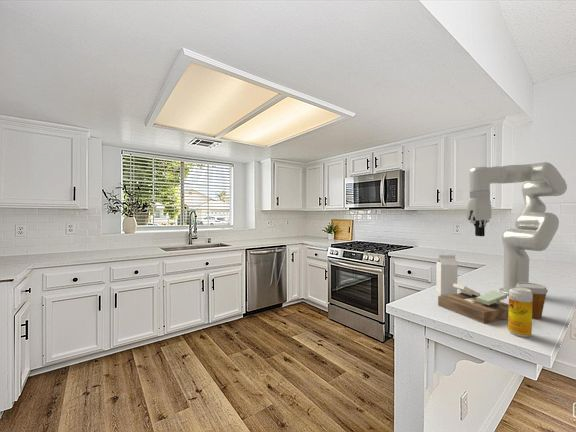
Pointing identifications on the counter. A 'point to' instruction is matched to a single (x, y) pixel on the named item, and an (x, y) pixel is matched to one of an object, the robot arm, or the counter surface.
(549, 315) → the counter surface
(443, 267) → the milk carton
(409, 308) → the counter surface
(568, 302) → the counter surface
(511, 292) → the beer can
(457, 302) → the switch unit
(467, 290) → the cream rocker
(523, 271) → the robot arm
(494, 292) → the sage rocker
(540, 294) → the disposable coffee cup
